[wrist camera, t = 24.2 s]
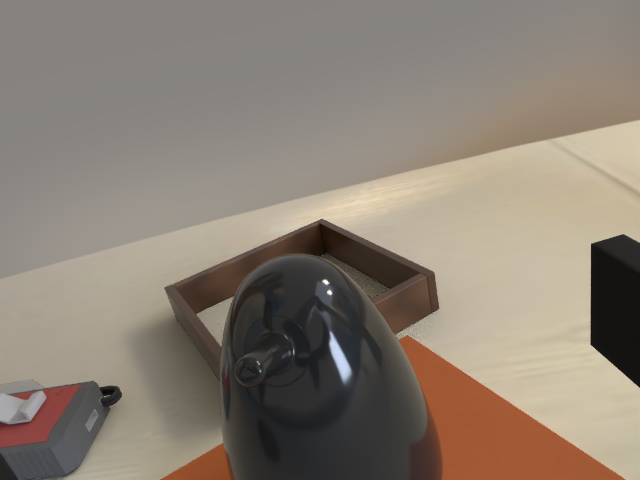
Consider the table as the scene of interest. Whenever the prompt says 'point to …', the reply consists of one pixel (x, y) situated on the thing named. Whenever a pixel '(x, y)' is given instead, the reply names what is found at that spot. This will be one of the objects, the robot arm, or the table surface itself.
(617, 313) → the robot arm
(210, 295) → the brown wooden square frame
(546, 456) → the mat
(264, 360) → the pump dispenser
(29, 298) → the table surface
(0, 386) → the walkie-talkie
